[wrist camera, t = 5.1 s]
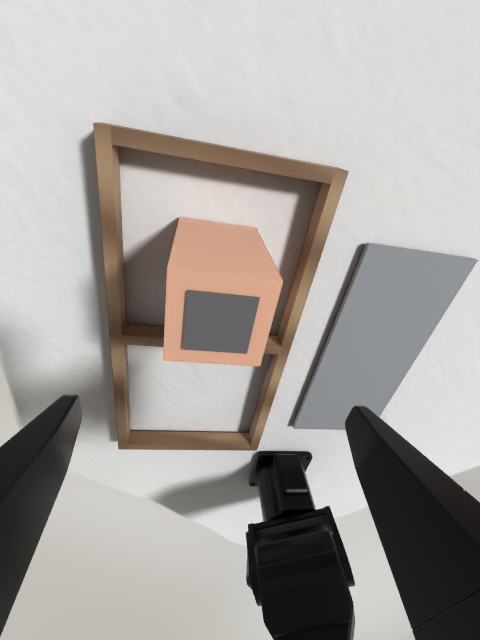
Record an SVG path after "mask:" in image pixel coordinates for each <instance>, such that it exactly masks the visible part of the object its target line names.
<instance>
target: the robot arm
mask: <svg viewBox="0 0 480 640" xmlns="http://www.w3.org/2000/svg"><path fill="white" fill-rule="evenodd" d="M81 420H82V410H81V404H80V398H79V396H78V395H63V396H61V397H60V398H59V399H57V400H56V401H55V402H54V403H53V404H51V405H50V406H49V407H48V408H47V409H45V410H44V411H43V412H42V413H41V414H39V415H38V416H37V417H36V418H35V419H33V420H32V421H31V422H30V423H29V424H27V425H26V426H25V427H24V428H23V429H21V430H20V431H19V432H18V433H17V434H16V435H14V436H13V437H12V438H11V439H10V440H8V441H7V442H6V443H5V444H4V445H2V446H1V447H0V636H1V634H2V631H3V629H4V626H5V624H6V621H7V619H8V616H9V614H10V611H11V609H12V606H13V604H14V601H15V599H16V596H17V594H18V592H19V589H20V586H21V584H22V582H23V579H24V577H25V574H26V572H27V569H28V567H29V564H30V562H31V559H32V557H33V554H34V552H35V549H36V547H37V545H38V542H39V540H40V537H41V535H42V532H43V530H44V527H45V525H46V522H47V520H48V517H49V515H50V513H51V510H52V508H53V505H54V503H55V500H56V498H57V495H58V493H59V490H60V488H61V485H62V483H63V480H64V478H65V475H66V472H67V470H68V466H69V463H70V459H71V456H72V452H73V449H74V445H75V441H76V438H77V434H78V431H79V427H80V424H81ZM345 429H346V433H347V437H348V441H349V445H350V449H351V453H352V457H353V461H354V465H355V469H356V472H357V475H358V478H359V481H360V483H361V486H362V489H363V492H364V495H365V498H366V500H367V503H368V506H369V509H370V511H371V514H372V517H373V520H374V523H375V526H376V529H377V531H378V534H379V537H380V540H381V542H382V546H383V548H384V551H385V554H386V557H387V560H388V563H389V565H390V568H391V571H392V574H393V577H394V579H395V582H396V585H397V588H398V591H399V594H400V597H401V599H402V602H403V605H404V608H405V611H406V614H407V616H408V619H409V622H410V625H411V628H412V629H413V634H414V637H415V640H480V502H478V501H477V500H476V499H475V498H474V497H473V496H471V495H470V494H469V493H468V492H467V491H464V489H463V488H462V487H461V486H460V485H458V484H457V483H456V482H455V481H454V480H453V479H451V478H450V477H449V476H448V475H447V474H445V473H444V472H443V471H442V470H441V469H440V468H438V467H437V466H436V465H435V464H434V463H432V462H431V461H430V460H429V459H428V458H427V457H425V456H424V455H423V454H422V453H421V452H420V451H418V450H417V449H416V448H415V447H414V446H412V445H411V444H410V443H409V442H408V441H407V440H405V439H404V438H403V437H402V436H401V435H399V434H398V433H397V432H396V431H395V430H394V429H392V428H391V427H390V426H389V425H388V424H386V423H385V422H384V421H383V420H382V419H381V418H379V417H378V416H377V415H376V414H375V413H373V412H372V411H371V410H370V409H369V408H367V407H366V406H354V407H352V409H351V411H350V413H349V415H348V416H347V418H346V420H345ZM311 459H312V454H311V453H310V452H260V453H258V455H257V458H256V461H255V464H254V467H253V470H252V473H251V476H250V479H249V486H258V489H259V496H260V503H261V509H262V516H263V522H261V523H256V524H253V523H252V524H248V532H246V540H247V552H248V553H247V556H248V557H247V575H246V579H247V585H248V586H249V587H250V588H251V589H252V590H253V594H254V596H255V600H256V603H257V605H258V606H262V612H263V619H264V623H265V625H266V627H267V629H268V631H269V633H270V634H271V636H272V638H273V639H274V640H353V637H354V627H355V616H354V607H353V601H352V597H351V594H350V591H349V587H351V586H355V582H354V578H353V574H352V571H351V567H350V564H349V561H348V558H347V554H346V552H345V548H344V545H343V543H342V540H341V537H340V534H339V532H338V529H337V526H336V523H335V521H334V518H333V515H332V512H331V509H330V507H329V506H326V507H324V508H322V509H318V510H316V509H315V505H314V502H313V498H312V495H311V491H310V488H309V485H308V481H307V478H306V474H305V471H306V469H307V467H308V465H309V463H310V461H311Z"/></svg>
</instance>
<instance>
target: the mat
mask: <svg viewBox="0 0 480 640" xmlns="http://www.w3.org/2000/svg"><path fill="white" fill-rule="evenodd" d="M477 261H478V260H476V259H474V258H469V257H462V256H455V255H448V254H441V253H434V252H427V251H421V250H414V249H407V248H400V247H393V246H386V245H379V244H372V243H366V246H365V248H364V250H363V253H362V255H361V258H360V260H359V263H358V265H357V268H356V270H355V273H354V275H353V278H352V280H351V283H350V285H349V287H348V290H347V292H346V295H345V297H344V300H343V302H342V305H341V307H340V310H339V312H338V315H337V317H336V320H335V322H334V324H333V327H332V329H331V332H330V334H329V337H328V339H327V342H326V344H325V347H324V349H323V352H322V354H321V357H320V359H319V361H318V364H317V366H316V369H315V371H314V374H313V376H312V379H311V381H310V384H309V386H308V389H307V391H306V394H305V396H304V398H303V401H302V403H301V406H300V408H299V411H298V413H297V416H296V418H295V421H294V423H293V428H294V429H337V430H346V429H345V420H346V418H347V416H348V415H349V413H350V411H351V409H352V407H354V406H366V407H367V408H369V409H370V410H371V411H372V412H373V413H375V414H376V415H377V416H378V417H380V415H381V413H382V412H383V410H384V409H385V407H386V405H387V404H388V402H389V401H390V399H391V398H392V396H393V394H394V393H395V391H396V390H397V388H398V386H399V385H400V383H401V382H402V380H403V378H404V377H405V375H406V374H407V372H408V371H409V369H410V367H411V366H412V364H413V363H414V361H415V359H416V358H417V356H418V355H419V353H420V351H421V350H422V348H423V347H424V345H425V343H426V342H427V340H428V339H429V337H430V336H431V334H432V332H433V331H434V329H435V328H436V326H437V324H438V323H439V321H440V320H441V318H442V316H443V315H444V313H445V312H446V310H447V308H448V307H449V305H450V304H451V302H452V301H453V299H454V297H455V296H456V294H457V293H458V291H459V289H460V288H461V286H462V285H463V283H464V281H465V280H466V278H467V277H468V275H469V274H470V272H471V270H472V269H473V267H474V266H475V264H476V262H477Z"/></svg>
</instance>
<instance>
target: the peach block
mask: <svg viewBox="0 0 480 640" xmlns="http://www.w3.org/2000/svg"><path fill="white" fill-rule="evenodd" d="M282 284H283V279H282V277H281V276H280V274H279V272H278V270H277V268H276V266H275V264H274V262H273V260H272V258H271V256H270V254H269V252H268V250H267V248H266V246H265V244H264V242H263V240H262V238H261V236H260V234H259V232H258V230H257V228H253V227H246V226H239V225H233V224H226V223H219V222H212V221H205V220H198V219H191V218H184V217H179V221H178V225H177V229H176V234H175V238H174V242H173V246H172V250H171V254H170V258H169V262H168V266H167V280H166V303H165V327H164V351H163V361H179V362H196V363H213V364H229V365H246V366H260V365H261V361H262V358H263V354H264V350H265V347H266V343H267V339H268V336H269V332H270V328H271V325H272V321H273V317H274V314H275V310H276V306H277V303H278V299H279V295H280V292H281V288H282Z"/></svg>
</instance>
